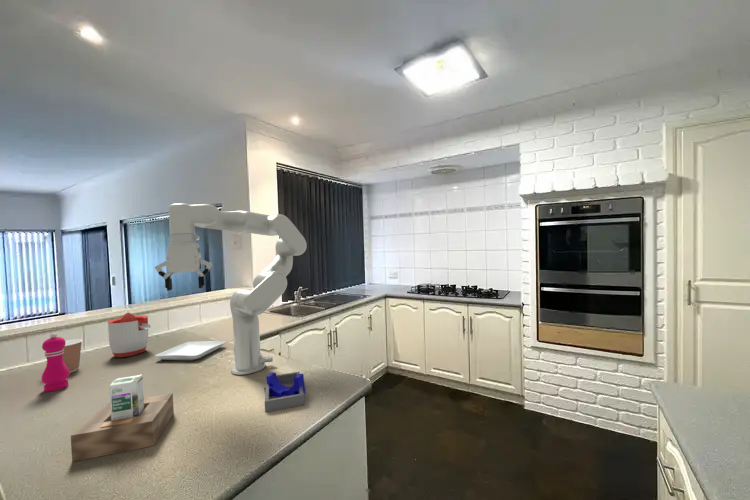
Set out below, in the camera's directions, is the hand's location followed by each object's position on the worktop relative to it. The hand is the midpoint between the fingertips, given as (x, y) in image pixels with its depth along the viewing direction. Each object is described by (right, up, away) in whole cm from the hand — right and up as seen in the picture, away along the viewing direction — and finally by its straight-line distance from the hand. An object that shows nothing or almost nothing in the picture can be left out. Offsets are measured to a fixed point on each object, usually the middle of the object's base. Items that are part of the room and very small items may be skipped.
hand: (185, 288), depth 110 cm
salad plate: (-19, -36, +38) cm, 55 cm away
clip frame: (+37, -33, -9) cm, 50 cm away
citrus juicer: (-51, -37, +43) cm, 76 cm away
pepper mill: (-50, -37, +5) cm, 62 cm away
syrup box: (+2, -35, -28) cm, 44 cm away
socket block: (+2, -35, -28) cm, 44 cm away
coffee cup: (-63, -37, +22) cm, 76 cm away
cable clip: (+37, -33, -9) cm, 50 cm away
